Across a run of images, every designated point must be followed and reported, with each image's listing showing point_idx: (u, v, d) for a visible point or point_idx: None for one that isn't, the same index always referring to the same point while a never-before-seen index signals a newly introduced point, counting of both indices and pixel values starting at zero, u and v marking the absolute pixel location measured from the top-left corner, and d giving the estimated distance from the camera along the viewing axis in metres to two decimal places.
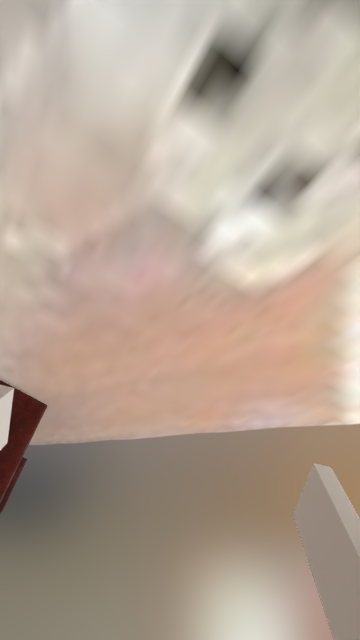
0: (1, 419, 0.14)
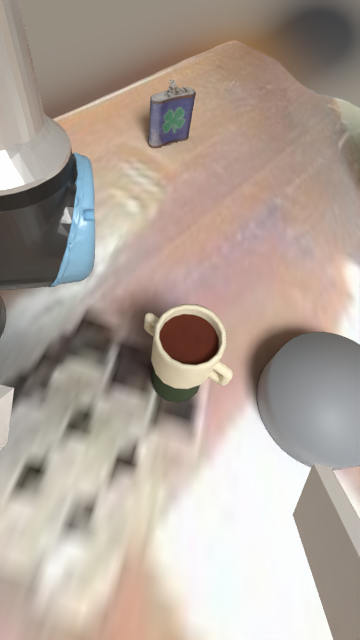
0: (1, 419, 0.14)
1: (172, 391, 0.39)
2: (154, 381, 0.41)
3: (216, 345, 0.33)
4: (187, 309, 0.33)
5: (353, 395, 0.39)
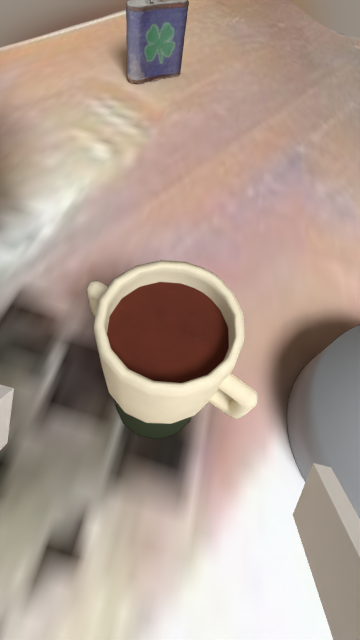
0: (1, 419, 0.14)
1: (145, 423, 0.22)
2: (117, 404, 0.24)
3: (224, 341, 0.17)
4: (166, 270, 0.17)
5: None
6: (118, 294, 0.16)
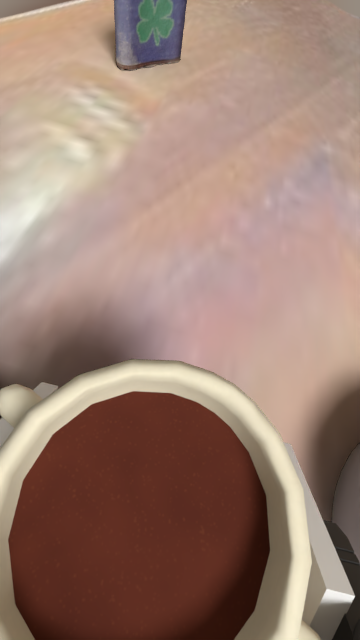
0: None
1: None
2: None
3: (259, 533, 0.08)
4: (141, 379, 0.09)
5: None
6: (39, 438, 0.08)
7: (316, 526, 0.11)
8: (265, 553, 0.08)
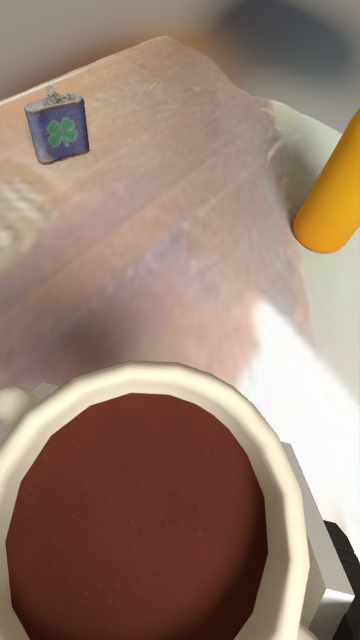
0: None
1: None
2: None
3: (257, 535, 0.08)
4: (139, 380, 0.08)
5: None
6: (37, 440, 0.08)
7: (316, 526, 0.11)
8: (263, 556, 0.08)
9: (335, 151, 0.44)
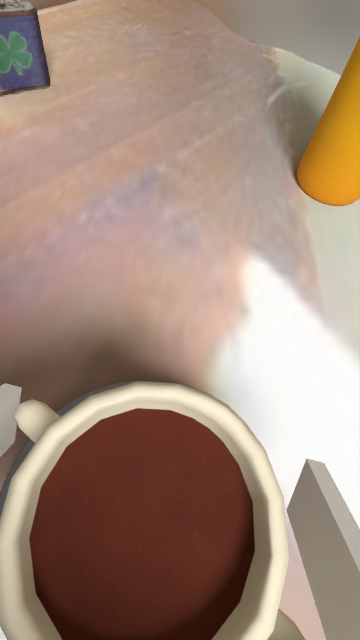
0: (9, 418, 0.14)
1: None
2: None
3: (246, 535, 0.09)
4: (145, 398, 0.10)
5: None
6: (56, 450, 0.09)
7: None
8: (250, 553, 0.09)
9: (353, 52, 0.33)
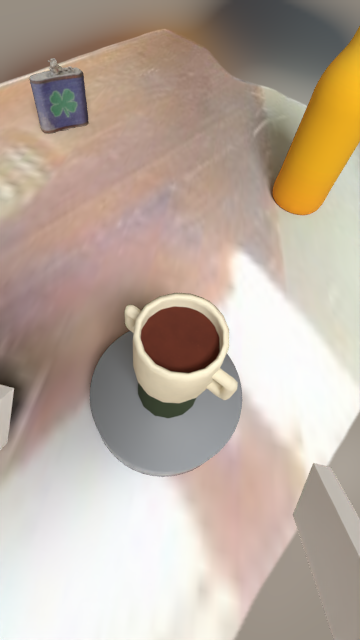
0: (1, 419, 0.14)
1: (161, 405, 0.31)
2: (139, 392, 0.33)
3: (216, 347, 0.25)
4: (178, 299, 0.26)
5: None
6: (147, 315, 0.25)
7: None
8: (217, 351, 0.25)
9: (305, 113, 0.49)
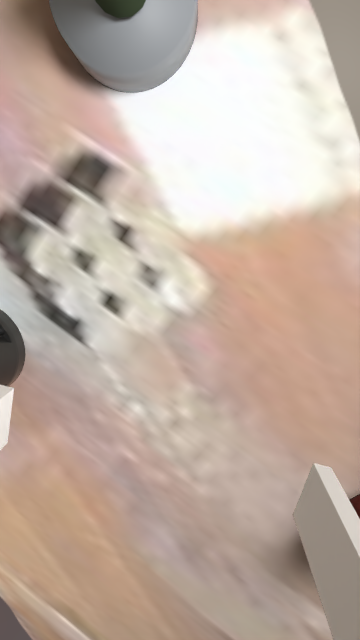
0: (1, 419, 0.14)
1: None
2: (117, 9, 0.34)
3: None
4: None
5: None
6: None
7: None
8: None
9: None
